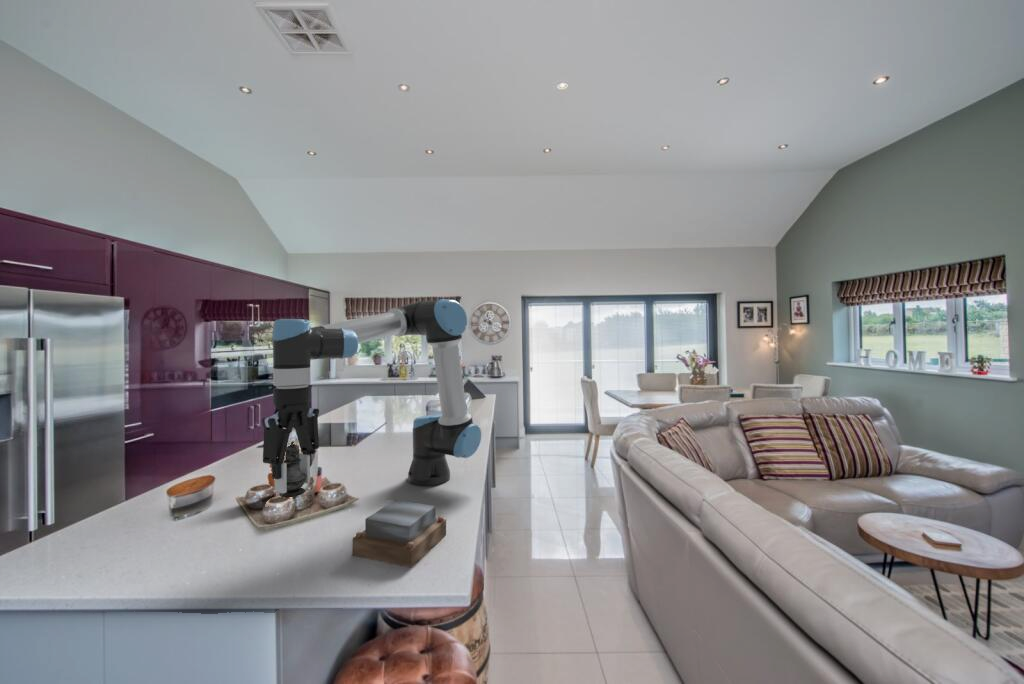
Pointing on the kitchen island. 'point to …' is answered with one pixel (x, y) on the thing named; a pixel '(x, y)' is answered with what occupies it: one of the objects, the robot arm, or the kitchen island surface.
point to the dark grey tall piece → (293, 473)
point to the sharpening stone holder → (400, 533)
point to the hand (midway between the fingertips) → (292, 486)
